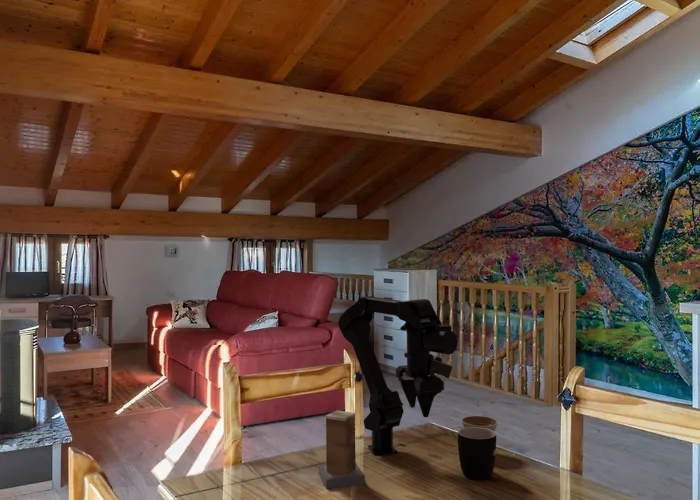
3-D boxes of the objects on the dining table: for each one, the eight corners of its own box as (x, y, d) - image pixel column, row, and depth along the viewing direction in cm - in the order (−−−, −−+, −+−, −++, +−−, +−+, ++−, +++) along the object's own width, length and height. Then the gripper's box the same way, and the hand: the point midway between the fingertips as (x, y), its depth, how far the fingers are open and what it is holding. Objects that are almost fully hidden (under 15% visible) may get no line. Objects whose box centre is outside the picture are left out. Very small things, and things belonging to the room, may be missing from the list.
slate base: (318, 473, 137) (318, 464, 137) (355, 470, 139) (355, 461, 139) (326, 488, 128) (326, 479, 128) (364, 484, 130) (364, 474, 130)
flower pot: (501, 450, 152) (501, 417, 152) (494, 462, 144) (494, 427, 144) (466, 445, 156) (466, 414, 156) (457, 456, 148) (457, 423, 148)
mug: (499, 483, 130) (499, 439, 130) (460, 482, 131) (459, 438, 131) (491, 464, 142) (490, 423, 142) (454, 463, 143) (454, 423, 143)
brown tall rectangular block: (337, 464, 137) (336, 410, 137) (355, 468, 135) (355, 412, 135) (326, 471, 133) (325, 415, 133) (345, 475, 130) (344, 418, 130)
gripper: (464, 354, 136) (465, 419, 136) (434, 342, 154) (434, 400, 154) (420, 356, 133) (420, 423, 133) (394, 344, 151) (395, 403, 151)
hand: (419, 412), depth 143 cm, fingers open, 9 cm apart
